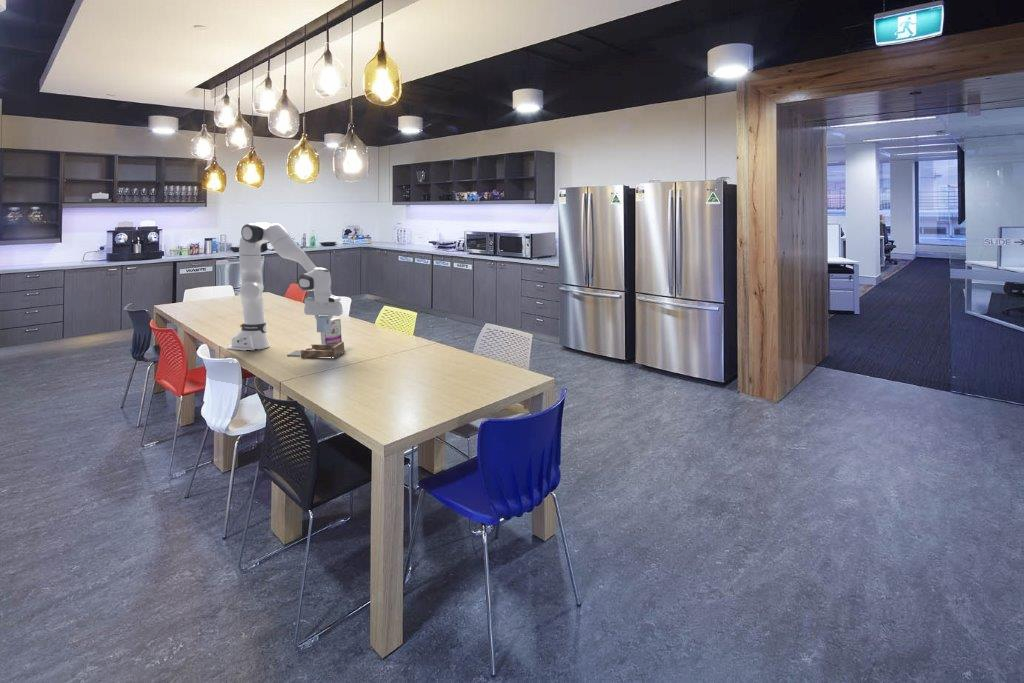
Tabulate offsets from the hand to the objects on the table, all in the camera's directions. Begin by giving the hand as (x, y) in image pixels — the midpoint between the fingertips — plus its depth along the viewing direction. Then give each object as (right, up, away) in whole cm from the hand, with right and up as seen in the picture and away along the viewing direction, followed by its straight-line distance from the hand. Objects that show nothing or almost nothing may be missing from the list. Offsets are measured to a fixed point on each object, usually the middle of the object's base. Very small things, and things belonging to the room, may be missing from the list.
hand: (323, 323), depth 317 cm
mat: (-16, -17, +5) cm, 24 cm away
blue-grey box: (0, -4, +1) cm, 4 cm away
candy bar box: (-3, -13, +22) cm, 26 cm away
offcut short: (-9, -15, +4) cm, 18 cm away
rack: (-2, -17, +4) cm, 18 cm away
